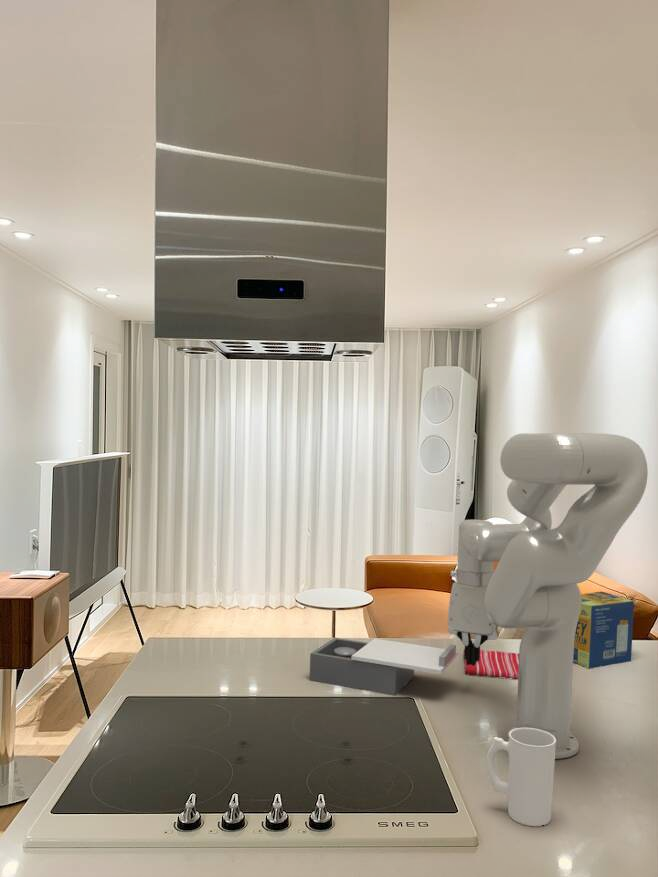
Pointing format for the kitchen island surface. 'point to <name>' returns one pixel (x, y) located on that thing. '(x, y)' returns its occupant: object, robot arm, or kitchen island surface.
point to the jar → (344, 652)
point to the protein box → (603, 630)
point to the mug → (526, 774)
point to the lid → (407, 655)
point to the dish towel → (495, 664)
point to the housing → (355, 670)
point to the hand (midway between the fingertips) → (471, 663)
